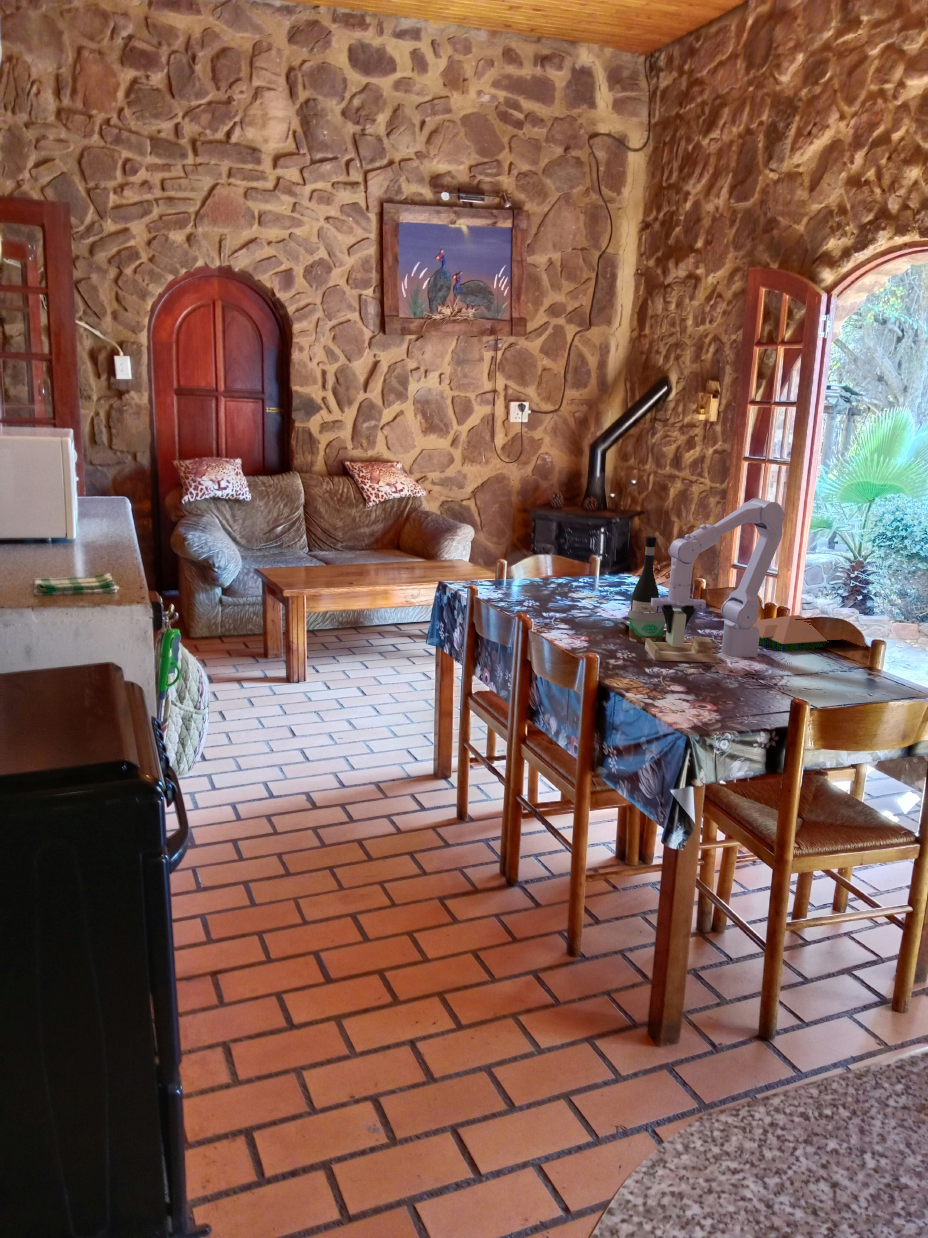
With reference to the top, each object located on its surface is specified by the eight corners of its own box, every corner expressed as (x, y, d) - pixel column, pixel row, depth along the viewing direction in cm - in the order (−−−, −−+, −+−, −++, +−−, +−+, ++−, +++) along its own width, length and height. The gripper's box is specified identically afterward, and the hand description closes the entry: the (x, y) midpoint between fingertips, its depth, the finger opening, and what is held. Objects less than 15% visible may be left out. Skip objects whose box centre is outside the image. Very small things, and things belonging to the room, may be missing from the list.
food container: (633, 648, 282) (636, 614, 279) (624, 643, 288) (627, 609, 285) (673, 647, 285) (676, 613, 283) (663, 642, 291) (666, 608, 288)
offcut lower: (705, 653, 277) (706, 644, 277) (711, 659, 271) (712, 650, 271) (691, 652, 277) (692, 643, 276) (697, 658, 271) (698, 649, 271)
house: (724, 634, 305) (727, 608, 303) (811, 629, 317) (814, 604, 315) (773, 655, 284) (777, 627, 282) (863, 648, 296) (867, 621, 294)
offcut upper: (706, 644, 276) (707, 637, 276) (711, 649, 271) (712, 642, 271) (693, 644, 276) (694, 636, 275) (698, 649, 271) (699, 641, 270)
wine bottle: (655, 641, 290) (665, 539, 283) (627, 639, 292) (636, 537, 285) (655, 635, 298) (665, 535, 291) (628, 632, 300) (637, 533, 292)
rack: (707, 654, 280) (709, 640, 279) (719, 665, 269) (721, 651, 268) (644, 652, 279) (645, 638, 278) (653, 663, 268) (655, 649, 267)
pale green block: (676, 640, 276) (679, 608, 274) (683, 647, 270) (686, 614, 267) (665, 639, 276) (668, 608, 274) (672, 646, 269) (675, 614, 267)
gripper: (657, 586, 265) (652, 635, 268) (710, 587, 265) (705, 637, 269) (650, 580, 271) (646, 628, 275) (703, 582, 272) (698, 630, 276)
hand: (675, 632), depth 272 cm, fingers closed on pale green block, 3 cm apart
